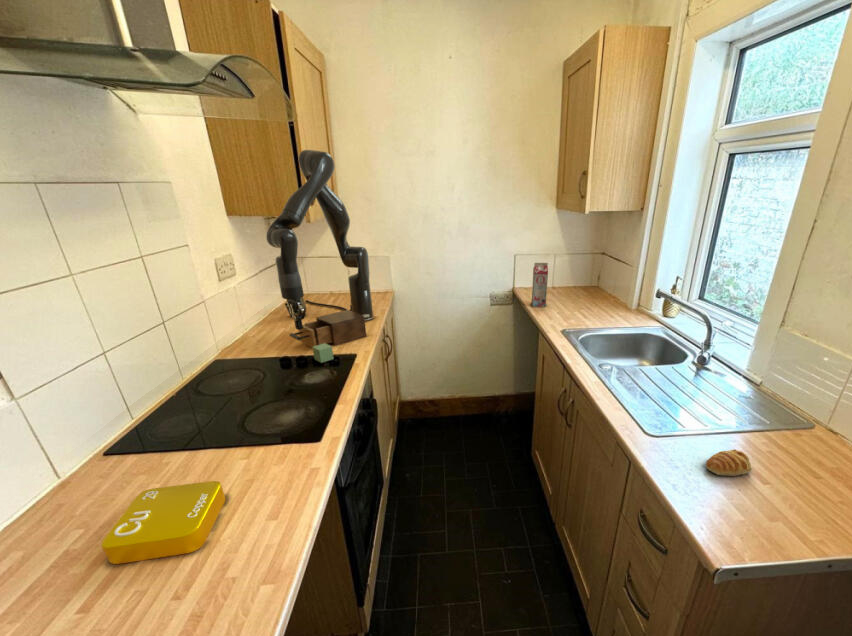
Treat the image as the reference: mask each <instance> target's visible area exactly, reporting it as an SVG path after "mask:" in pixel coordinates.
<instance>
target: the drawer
mask: <svg viewBox="0 0 852 636" xmlns="http://www.w3.org/2000/svg"><path fill="white" fill-rule="evenodd" d="M302 325H303V329H301V330H298V332H295V333H293V332H291V333H290V334H289V337H291V338H292V339H295V340H297V341H300V342H301V343H302V344H305V345H307V346H308V347H310V348H312V349H313V346H317V345H320V344H324V343H326V344H331V342H333V336H332V329H331V325H329V324H327V323H324V322H322V321H320V320H318V321H317V320H315V321H310V322H306V323H304V324H302Z"/></svg>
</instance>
